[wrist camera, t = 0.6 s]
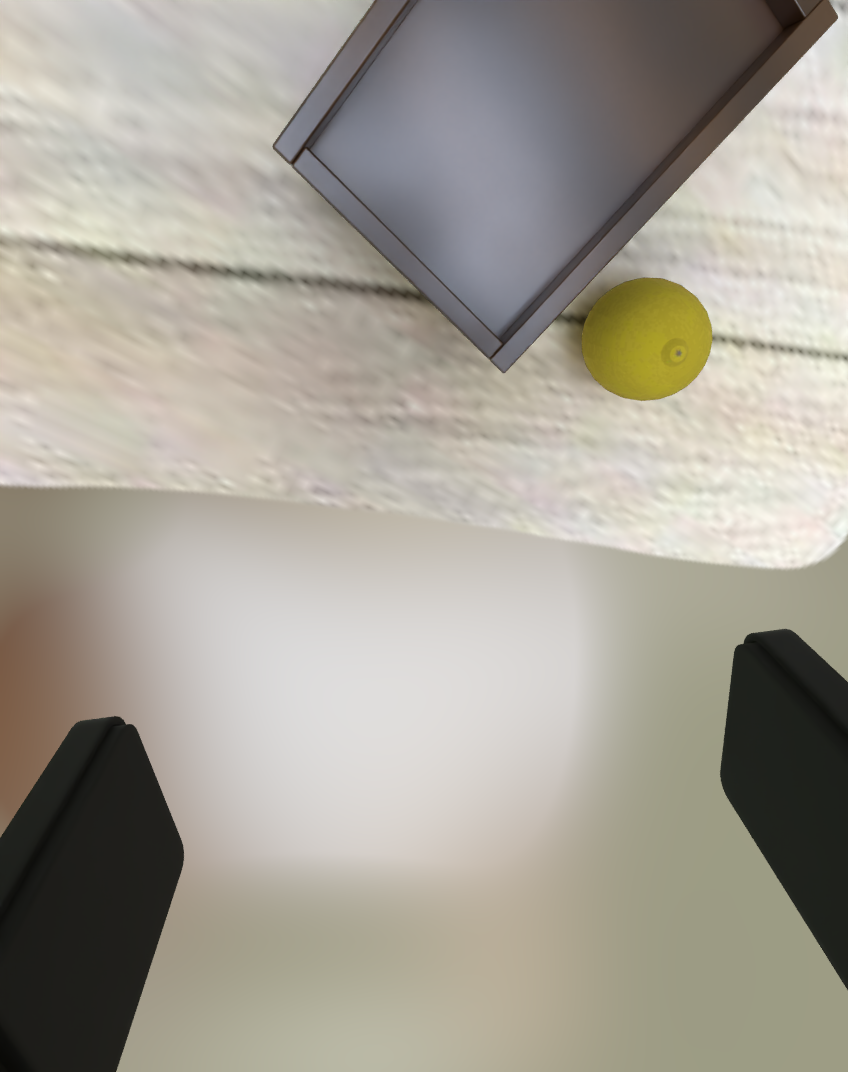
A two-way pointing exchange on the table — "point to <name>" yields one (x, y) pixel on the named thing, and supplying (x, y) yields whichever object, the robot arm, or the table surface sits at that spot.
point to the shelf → (530, 136)
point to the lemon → (646, 339)
